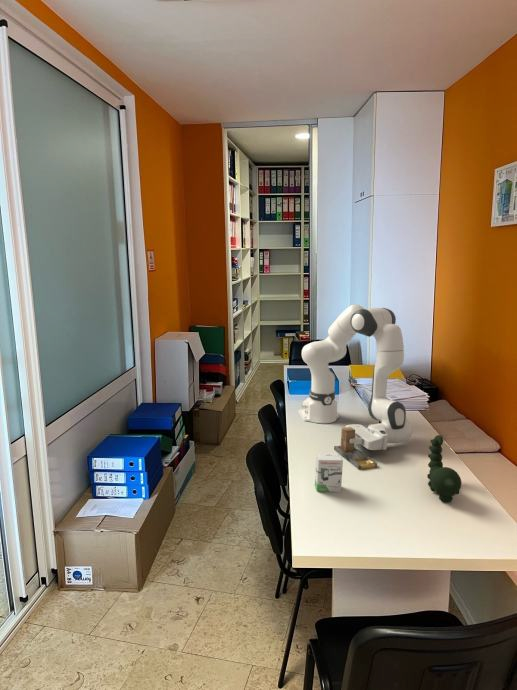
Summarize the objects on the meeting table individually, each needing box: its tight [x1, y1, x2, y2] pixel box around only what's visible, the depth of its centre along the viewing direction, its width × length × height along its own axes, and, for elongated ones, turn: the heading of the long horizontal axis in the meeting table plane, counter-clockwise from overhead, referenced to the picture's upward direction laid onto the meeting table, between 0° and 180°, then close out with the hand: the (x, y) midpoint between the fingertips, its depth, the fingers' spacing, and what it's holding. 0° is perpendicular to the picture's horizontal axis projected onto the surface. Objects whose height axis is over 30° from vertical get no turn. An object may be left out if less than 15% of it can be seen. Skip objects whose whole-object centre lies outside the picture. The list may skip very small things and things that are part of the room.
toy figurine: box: [426, 434, 462, 503], centre depth 170 cm, size 9×19×25 cm
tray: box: [333, 444, 378, 470], centre depth 199 cm, size 20×8×2 cm, turn 19°
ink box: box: [314, 453, 344, 493], centre depth 172 cm, size 9×5×12 cm, turn 91°
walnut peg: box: [340, 427, 356, 452], centre depth 204 cm, size 4×4×10 cm
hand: (346, 438), depth 203 cm, fingers closed on walnut peg, 4 cm apart
